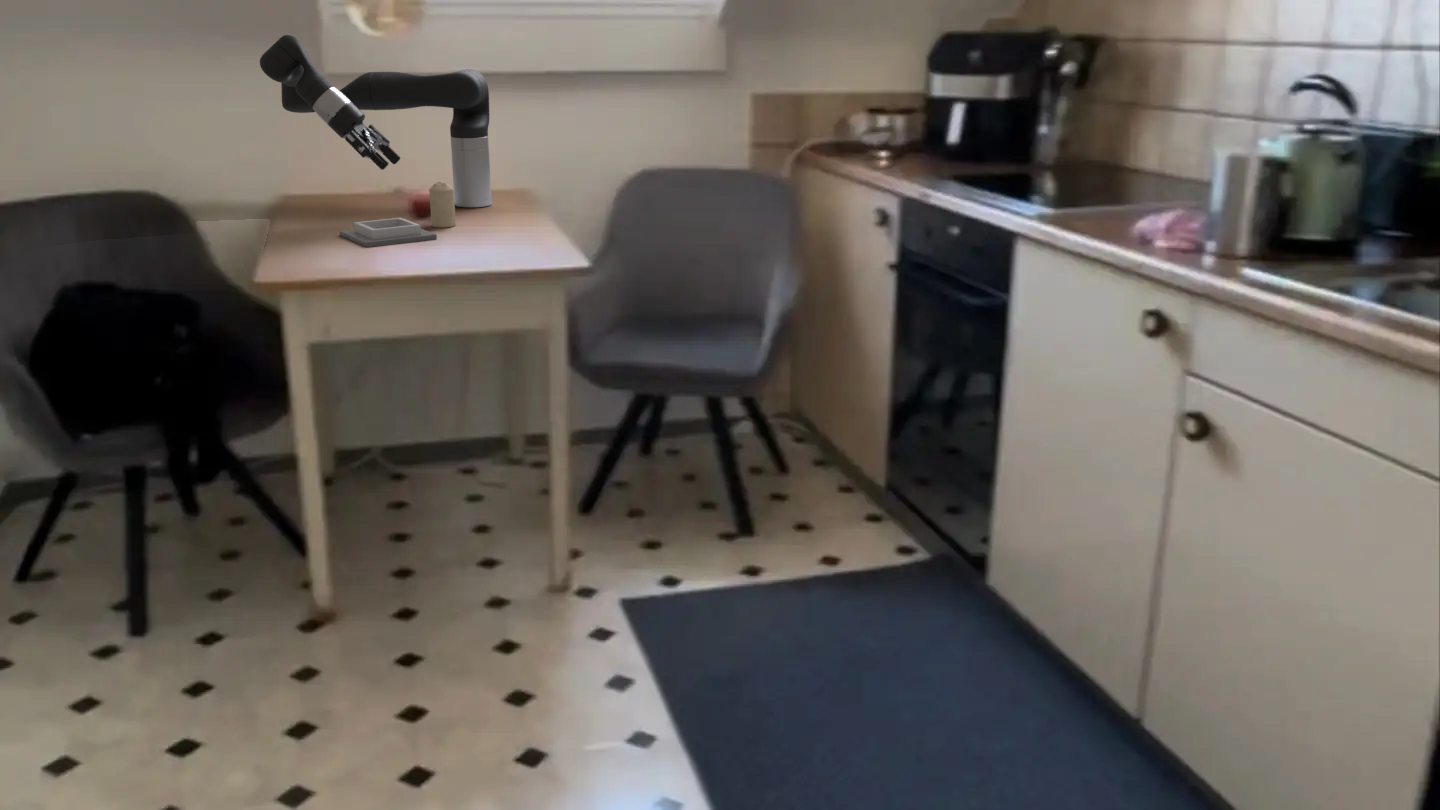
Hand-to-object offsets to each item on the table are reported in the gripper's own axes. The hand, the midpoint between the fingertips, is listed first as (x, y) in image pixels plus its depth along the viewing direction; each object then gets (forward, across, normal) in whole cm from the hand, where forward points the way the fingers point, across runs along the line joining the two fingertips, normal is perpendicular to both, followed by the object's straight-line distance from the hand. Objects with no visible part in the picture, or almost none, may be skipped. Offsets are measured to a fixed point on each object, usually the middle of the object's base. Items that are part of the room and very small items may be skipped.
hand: (391, 164), depth 285 cm
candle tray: (+12, +15, -8) cm, 20 cm away
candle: (+18, 0, -2) cm, 18 cm away
